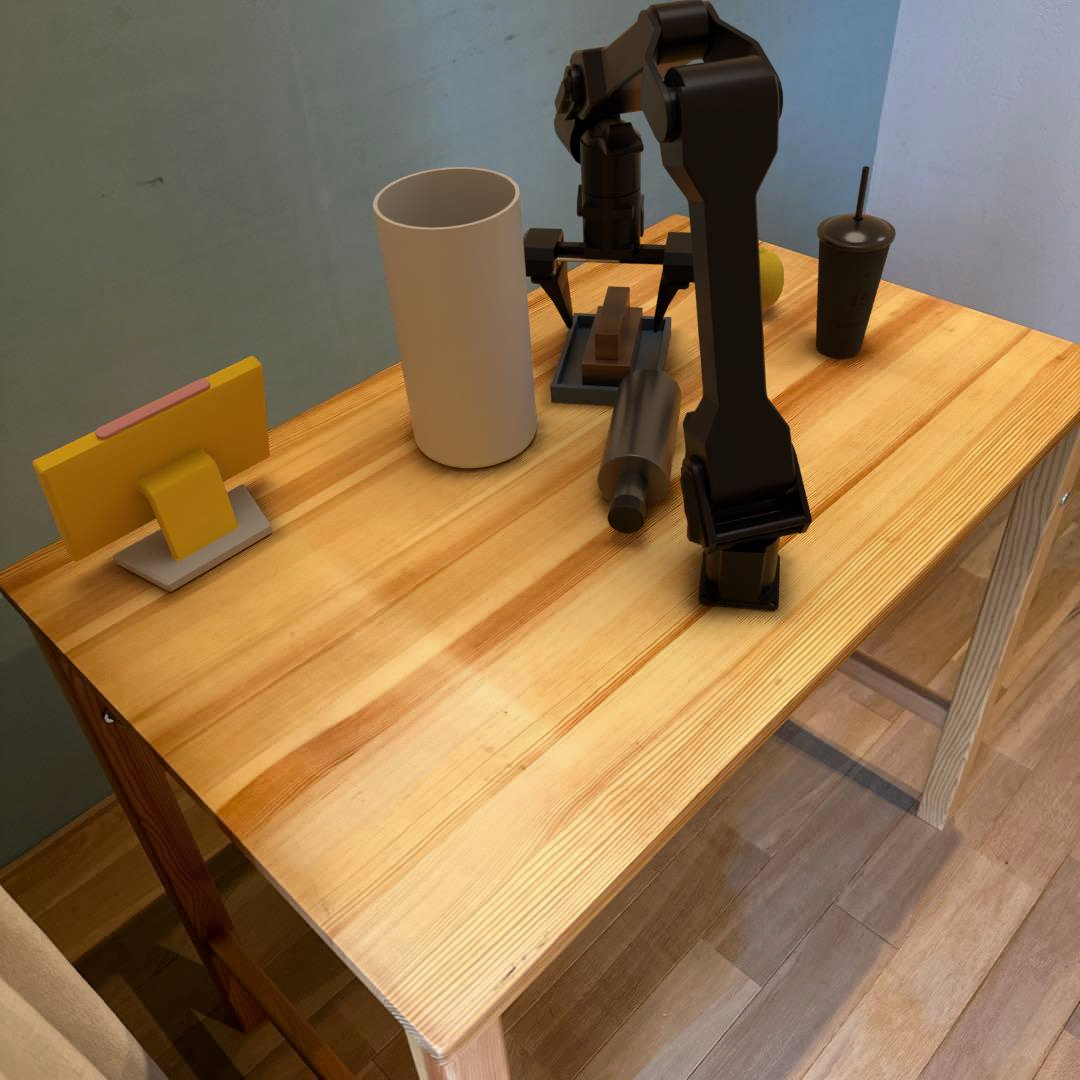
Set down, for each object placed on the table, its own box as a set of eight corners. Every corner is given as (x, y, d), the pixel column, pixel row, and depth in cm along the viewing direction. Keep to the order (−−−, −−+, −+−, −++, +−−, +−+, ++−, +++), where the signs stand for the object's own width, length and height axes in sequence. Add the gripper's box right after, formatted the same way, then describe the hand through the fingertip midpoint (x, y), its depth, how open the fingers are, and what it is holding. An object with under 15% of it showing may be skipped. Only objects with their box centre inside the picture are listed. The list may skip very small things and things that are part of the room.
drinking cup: (788, 341, 112) (809, 163, 98) (844, 322, 114) (872, 146, 100) (830, 373, 107) (859, 190, 93) (888, 353, 109) (924, 172, 95)
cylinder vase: (411, 476, 98) (366, 234, 81) (418, 403, 107) (379, 172, 90) (539, 467, 98) (520, 223, 81) (535, 395, 107) (518, 162, 90)
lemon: (728, 321, 116) (733, 257, 110) (736, 298, 119) (741, 234, 114) (777, 326, 114) (784, 261, 109) (783, 302, 118) (790, 238, 113)
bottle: (680, 423, 101) (682, 369, 97) (661, 550, 88) (663, 494, 84) (617, 419, 103) (617, 366, 98) (589, 544, 89) (587, 488, 85)
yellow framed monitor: (269, 474, 99) (226, 335, 89) (315, 508, 95) (275, 366, 84) (80, 579, 90) (7, 436, 79) (121, 622, 85) (49, 477, 75)
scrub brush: (629, 394, 105) (629, 340, 101) (582, 391, 106) (580, 338, 102) (642, 334, 114) (642, 282, 109) (598, 332, 115) (597, 280, 110)
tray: (657, 408, 104) (657, 392, 102) (551, 402, 106) (550, 386, 104) (671, 332, 115) (671, 316, 113) (574, 327, 117) (573, 312, 115)
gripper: (714, 154, 101) (706, 295, 111) (532, 152, 104) (541, 288, 115) (706, 201, 93) (698, 348, 103) (509, 197, 96) (521, 339, 107)
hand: (612, 328), depth 107 cm, fingers open, 9 cm apart
